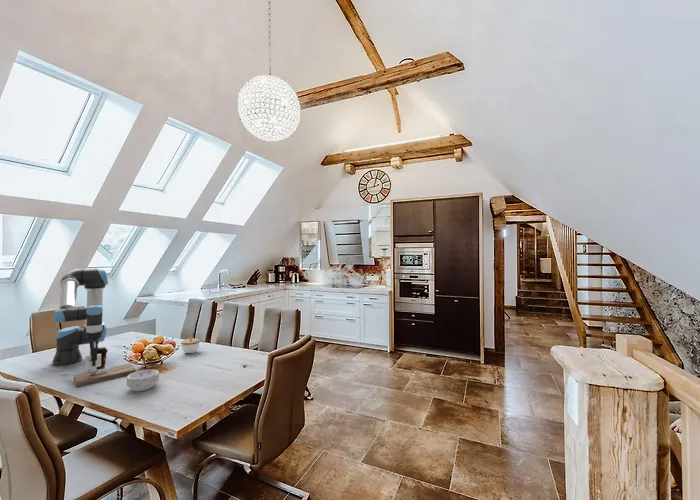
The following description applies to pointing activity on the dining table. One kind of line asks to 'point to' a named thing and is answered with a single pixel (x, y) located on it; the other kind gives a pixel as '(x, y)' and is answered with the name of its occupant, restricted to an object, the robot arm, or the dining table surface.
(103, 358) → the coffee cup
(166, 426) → the dining table surface
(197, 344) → the lidded bowl
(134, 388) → the white floral bowl
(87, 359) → the white piece
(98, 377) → the board
